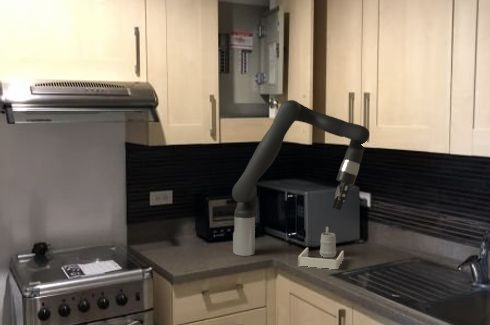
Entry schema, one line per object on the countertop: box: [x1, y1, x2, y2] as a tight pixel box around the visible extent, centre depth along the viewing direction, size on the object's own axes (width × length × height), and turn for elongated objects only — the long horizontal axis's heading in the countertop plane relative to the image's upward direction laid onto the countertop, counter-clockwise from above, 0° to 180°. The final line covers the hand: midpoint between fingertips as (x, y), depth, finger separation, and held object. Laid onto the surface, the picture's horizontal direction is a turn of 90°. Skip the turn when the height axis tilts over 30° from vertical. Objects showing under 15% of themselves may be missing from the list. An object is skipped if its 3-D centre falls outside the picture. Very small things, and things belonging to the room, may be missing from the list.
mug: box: [319, 226, 337, 258], centre depth 245 cm, size 8×12×12 cm, turn 177°
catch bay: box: [297, 247, 345, 270], centre depth 232 cm, size 17×17×4 cm
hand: (336, 208), depth 226 cm, fingers open, 8 cm apart
